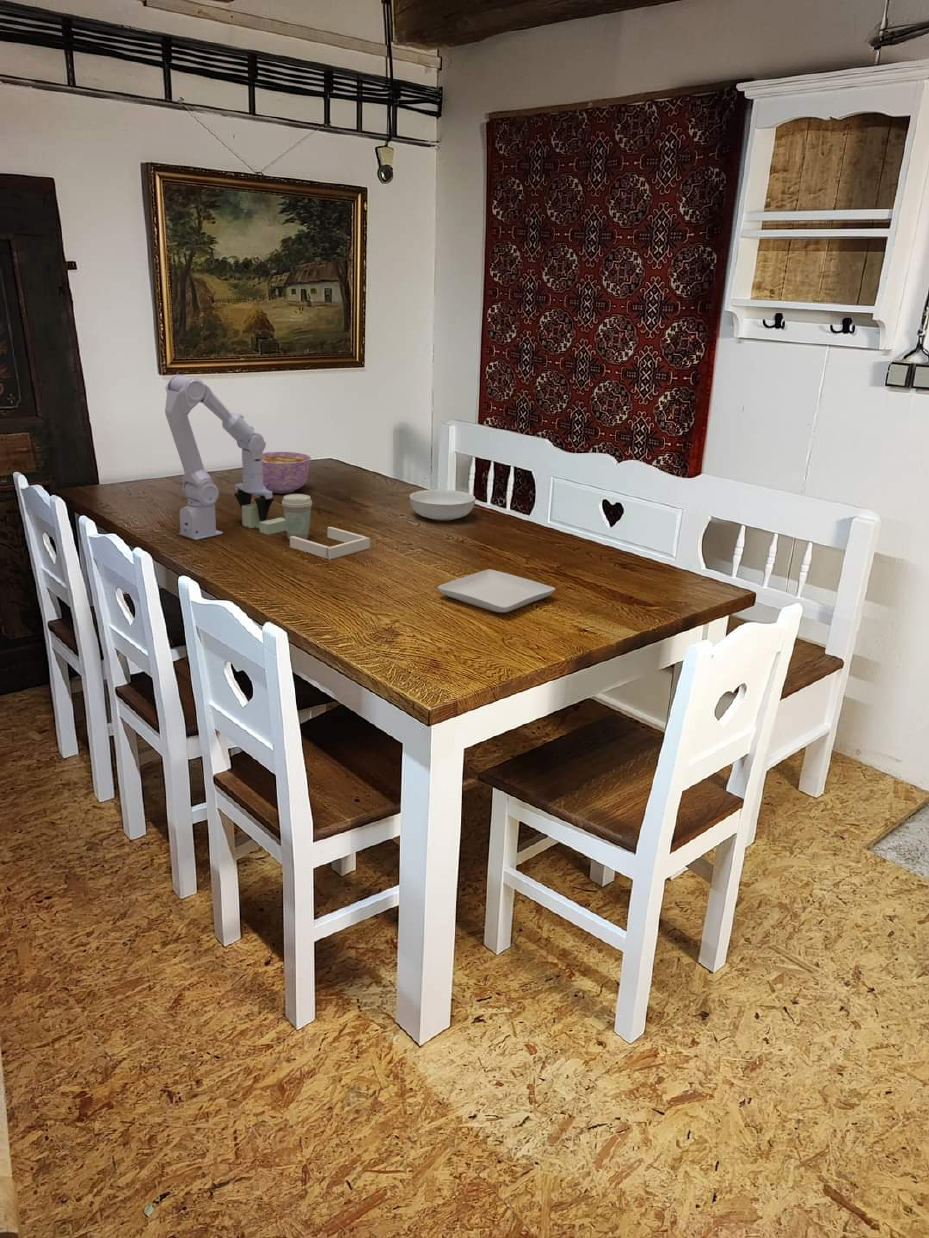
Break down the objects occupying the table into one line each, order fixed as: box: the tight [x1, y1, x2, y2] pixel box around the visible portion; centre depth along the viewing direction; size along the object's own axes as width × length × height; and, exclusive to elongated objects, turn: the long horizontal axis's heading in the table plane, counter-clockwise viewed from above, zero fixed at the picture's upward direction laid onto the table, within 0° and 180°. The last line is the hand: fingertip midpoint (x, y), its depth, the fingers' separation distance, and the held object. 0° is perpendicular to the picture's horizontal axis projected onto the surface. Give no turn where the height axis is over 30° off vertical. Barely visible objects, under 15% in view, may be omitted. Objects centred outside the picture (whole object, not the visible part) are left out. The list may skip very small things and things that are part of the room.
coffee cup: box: [281, 493, 313, 540], centre depth 258 cm, size 9×8×12 cm
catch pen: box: [289, 526, 371, 560], centre depth 252 cm, size 15×16×3 cm
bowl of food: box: [262, 451, 312, 494], centre depth 311 cm, size 20×20×12 cm
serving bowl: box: [409, 489, 476, 522], centre depth 288 cm, size 21×21×7 cm
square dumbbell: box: [241, 502, 287, 535], centre depth 267 cm, size 8×13×6 cm, turn 52°
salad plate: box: [437, 569, 556, 614], centre depth 219 cm, size 21×21×3 cm
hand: (254, 518), depth 270 cm, fingers open, 7 cm apart
